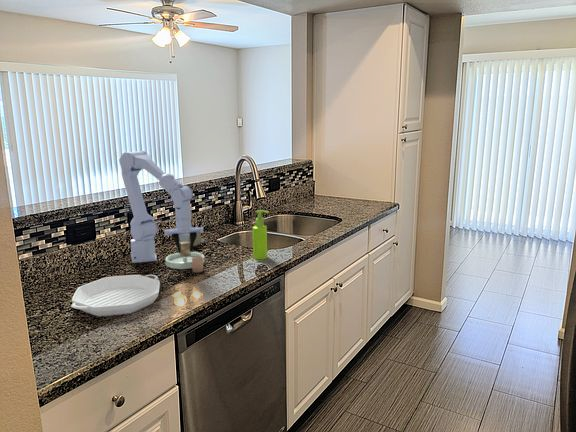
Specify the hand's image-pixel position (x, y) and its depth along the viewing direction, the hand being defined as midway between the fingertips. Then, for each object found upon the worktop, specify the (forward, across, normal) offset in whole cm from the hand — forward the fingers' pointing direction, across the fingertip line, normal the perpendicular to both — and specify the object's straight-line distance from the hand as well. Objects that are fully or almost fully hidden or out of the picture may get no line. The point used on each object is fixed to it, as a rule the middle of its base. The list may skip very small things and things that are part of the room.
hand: (185, 251), depth 176 cm
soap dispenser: (+6, +31, +2) cm, 32 cm away
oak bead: (+1, 0, 0) cm, 1 cm away
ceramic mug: (+6, +5, +30) cm, 31 cm away
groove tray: (+6, 0, +4) cm, 7 cm away
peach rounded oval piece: (+6, +4, -7) cm, 10 cm away
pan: (+6, -23, -29) cm, 38 cm away
